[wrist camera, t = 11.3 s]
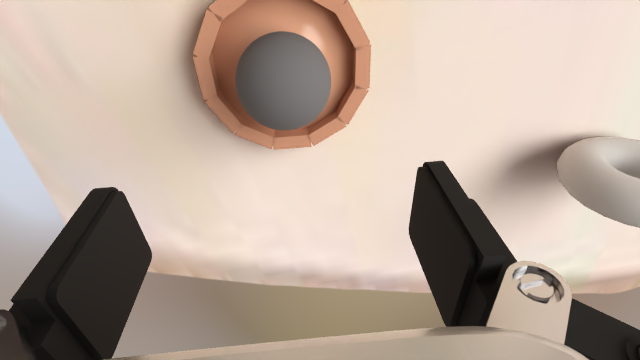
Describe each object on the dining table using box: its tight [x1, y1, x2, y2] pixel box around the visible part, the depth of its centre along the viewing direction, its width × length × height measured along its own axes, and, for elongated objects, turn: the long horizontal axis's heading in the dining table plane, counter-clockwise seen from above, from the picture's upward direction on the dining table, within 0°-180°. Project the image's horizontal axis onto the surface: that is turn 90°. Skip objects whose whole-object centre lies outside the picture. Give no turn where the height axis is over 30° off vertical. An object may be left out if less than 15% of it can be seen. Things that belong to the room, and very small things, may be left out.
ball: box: [235, 31, 331, 130], centre depth 22 cm, size 6×6×6 cm
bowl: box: [193, 0, 371, 149], centre depth 24 cm, size 12×12×2 cm
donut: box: [557, 137, 640, 227], centre depth 27 cm, size 10×4×10 cm, turn 91°
